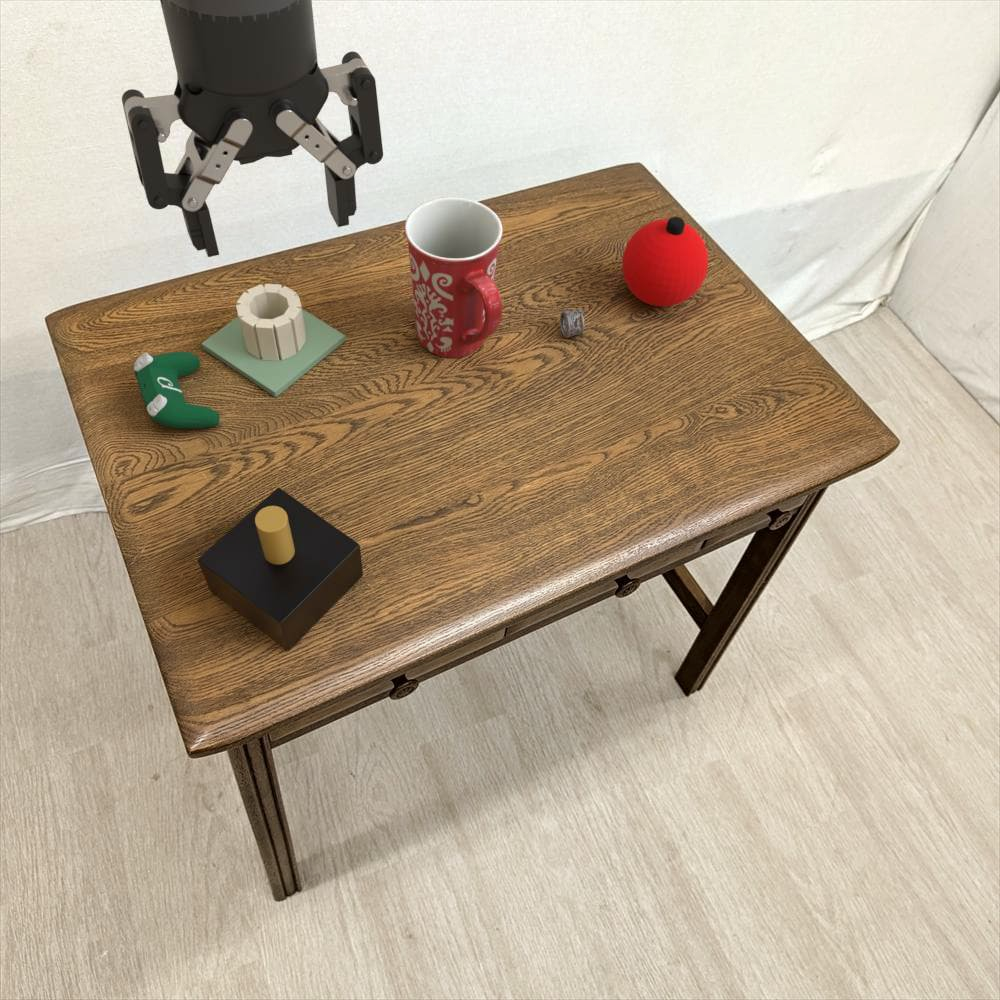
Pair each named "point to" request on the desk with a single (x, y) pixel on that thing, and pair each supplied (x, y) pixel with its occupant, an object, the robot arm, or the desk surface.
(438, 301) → the mug
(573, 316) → the decorative ring
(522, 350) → the desk surface
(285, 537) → the ring stand
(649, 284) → the ornament
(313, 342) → the mat
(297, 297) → the ring
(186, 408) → the gaming controller
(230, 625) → the desk surface
